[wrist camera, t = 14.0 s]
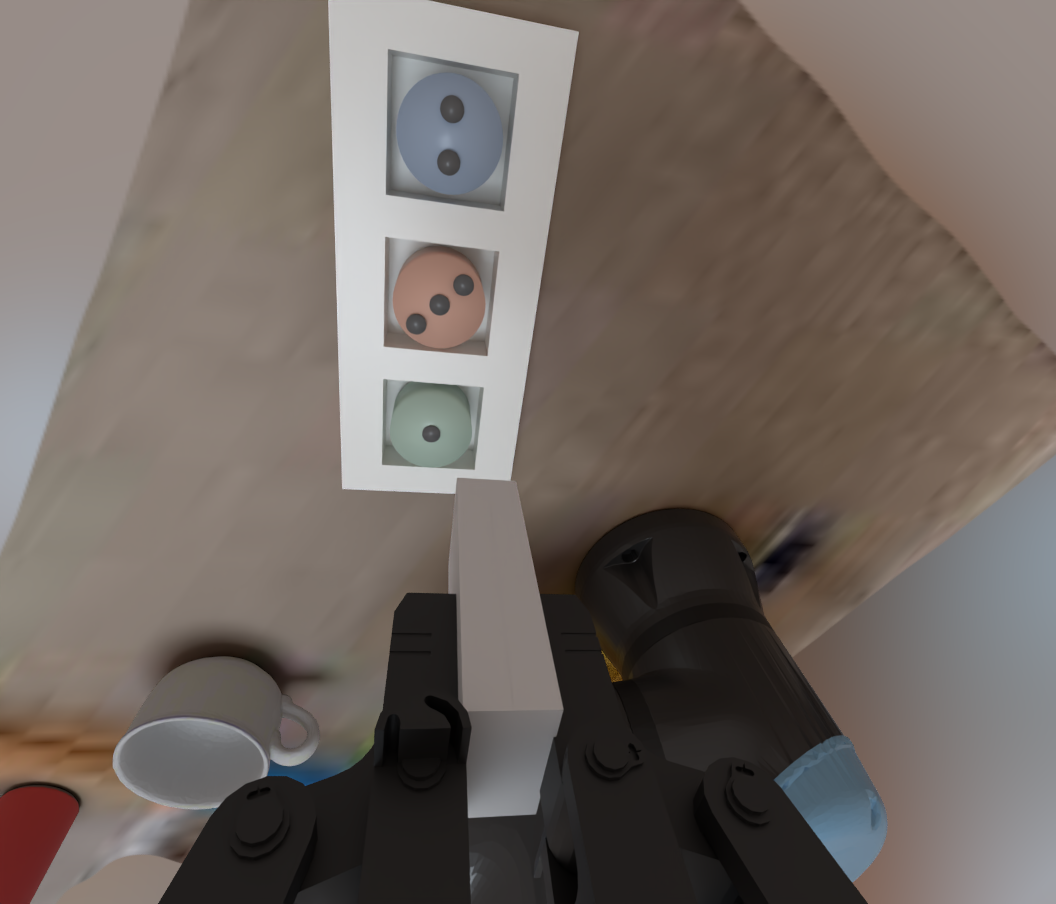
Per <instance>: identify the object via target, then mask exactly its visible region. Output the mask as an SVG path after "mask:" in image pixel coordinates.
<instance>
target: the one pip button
mask: <svg viewBox="0 0 1056 904" xmlns="http://www.w3.org/2000/svg"><path fill="white" fill-rule="evenodd" d="M390 438H391V441H392V444H393V446H394V448H395V449H396V451H397V452H398V453H399V454H400V455H401V456H402V457H403V458H404V459H406V460H407V461H409V462H411V463H413V464H415V465H418V466H422V467H441V466H445V465H448V464H450V463H453V462H454V461H456V460H457V459H459V458H460V457H461V456H462V455H463V454H464V453H465V452H466V450H467V449H468V447H469V445H470V442H471V438H472V425H471V414H470V405H469V401H468V399H467V397H466V395H465V393H464V392H463V391H462V390H461V389H460V388H459V387H458V386H457V385H450V384H438V383H425V382H413V381H411V382H410V383H408V384H407V385H405V386H404V387H403V388H402V389H401V391H400V392H399V393H398V395H397V397H396V399H395V403H394V408H393V413H392V419H391V424H390Z"/></svg>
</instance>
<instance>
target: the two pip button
mask: <svg viewBox="0 0 1056 904" xmlns="http://www.w3.org/2000/svg"><path fill="white" fill-rule="evenodd" d="M396 135H397V142H398V147H399V150H400V153H401V156H402V158H403V160H404V162H405V164H406V166H407V168H408V169H409V170H410V172H411V173H412V174H413V175H414V177H415V178H416V179H417V180H418V181H420V182H421V183H422V184H423V185H425V186H426V187H428V188H430V189H432V190H433V191H436V192H439V193H443V194H449V195H458V194H464V193H468V192H470V191H473V190H475V189H476V188H478V187H480V186H481V185H482V184H484V183H485V182H486V181H487V180H488V179H489V177H490V176H491V175H492V174H493V172H494V170H495V169H496V167H497V164H498V162H499V160H500V156H501V153H502V147H503V129H502V123H501V119H500V116H499V113H498V111H497V108H496V106H495V104H494V103H493V101H492V99H491V98H490V96H489V95H488V94H487V92H486V91H485V90H484V89H483V88H482V87H481V86H479V85H478V84H477V83H476V82H474V81H473V80H471V79H469V78H467V77H465V76H463V75H459V74H455V73H448V72H446V73H437V74H432V75H430V76H427V77H425V78H423V79H422V80H420V81H419V82H417V83H416V84H415V85H414V86H413V87H412V88H411V89H410V90H409V91H408V93H407V94H406V96H405V97H404V99H403V101H402V103H401V106H400V109H399V112H398V117H397V125H396Z"/></svg>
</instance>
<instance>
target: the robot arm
mask: <svg viewBox="0 0 1056 904" xmlns="http://www.w3.org/2000/svg"><path fill="white" fill-rule="evenodd" d="M601 651H603V652H604V654H605V655H606V656H607V658H608V659H609V660H610V662H611V663H612V664H613V665H614V667H615V668H616V669H617V671H618V672H619V673H620V675H621V676H622V679H623V681H618V682H613V683H612V682H611V679H610V675H609V672H608V669H607V666H606V662H605V659H604V656H603V654H602V653H601ZM886 834H887V814H886V810H885V807H884V804H883V802H882V799H881V797H880V796H879V794H878V792H877V790H876V788H875V787H874V785H873V783H872V781H871V779H870V778H869V776H868V774H867V772H866V771H865V769H864V767H863V765H862V764H861V762H860V760H859V758H858V756H857V755H856V753H855V749H854V745H853V744H852V742H851V741H850V739H849V738H848V737H846V736H844V735H843V733H842V732H841V730H840V729H839V727H838V726H837V724H836V723H835V721H834V720H833V718H832V717H831V715H830V714H829V712H828V711H827V709H826V708H825V706H824V705H823V703H822V702H821V700H820V699H819V697H818V696H817V694H816V693H815V691H814V690H813V688H812V687H811V685H810V684H809V683H808V681H807V679H806V678H805V676H804V675H803V673H802V672H801V670H800V669H799V667H798V666H797V664H796V663H795V661H794V660H793V658H792V657H791V655H790V654H789V652H788V651H787V649H786V648H785V646H784V645H783V643H782V642H781V640H780V639H779V637H778V636H777V635H776V633H775V632H774V630H773V629H772V627H771V625H770V624H769V622H768V621H767V619H766V618H765V616H764V612H763V608H762V603H761V599H760V594H759V590H758V585H757V581H756V576H755V572H754V567H753V563H752V560H751V558H750V555H749V553H748V551H747V549H746V548H745V546H744V545H743V543H742V542H741V541H740V539H739V538H738V536H737V535H736V534H735V532H734V531H733V530H732V529H731V527H730V526H729V525H727V524H726V523H725V522H724V521H722V520H721V519H719V518H717V517H715V516H713V515H711V514H708V513H705V512H702V511H697V510H691V509H668V510H661V511H656V512H652V513H648V514H645V515H642V516H639V517H636V518H634V519H632V520H629V521H627V522H625V523H623V524H622V525H620V526H618V527H617V528H615V529H613V530H612V531H611V532H609V533H608V534H606V535H605V536H604V537H603V538H602V539H601V540H600V541H598V542H597V543H596V544H595V546H594V547H593V548H592V549H591V550H590V551H589V553H588V554H587V556H586V557H585V559H584V560H583V562H582V564H581V566H580V568H579V571H578V573H577V577H576V582H575V595H561V594H539V589H538V584H537V580H536V575H535V570H534V565H533V560H532V556H531V551H530V546H529V541H528V536H527V531H526V527H525V522H524V517H523V512H522V507H521V503H520V498H519V493H518V488H517V483H516V481H507V480H490V479H473V478H457V482H456V492H455V502H454V512H453V523H452V533H451V543H450V553H449V563H448V594H439V593H407V594H406V595H405V597H404V598H403V600H402V601H401V603H400V604H399V606H398V607H397V608H396V610H395V611H394V620H393V628H392V637H391V645H390V655H389V662H388V670H387V679H386V687H385V696H384V704H383V711H382V712H381V713H380V716H379V719H378V722H377V725H376V728H375V736H374V745H373V746H372V748H371V749H370V751H369V752H368V753H367V754H366V755H365V756H364V757H363V759H362V760H360V761H359V762H358V763H356V764H355V765H354V766H352V767H351V768H350V769H348V770H345V771H343V772H341V773H339V774H337V775H335V776H332V777H329V778H327V779H324V780H321V781H318V782H316V783H313V784H310V785H307V786H304V784H303V783H301V782H298V781H296V780H294V779H292V778H289V777H287V776H266V777H263V778H261V779H258V780H255V781H252V782H249V783H246V784H245V785H243V786H242V787H240V788H239V789H238V790H236V791H235V792H233V793H232V794H230V795H229V796H228V797H226V798H225V800H224V801H223V802H222V803H221V804H220V806H219V807H218V808H217V809H216V811H215V812H214V813H213V814H212V815H211V817H210V818H209V820H208V822H207V823H206V825H205V827H204V828H203V830H202V832H201V833H200V835H199V837H198V838H197V840H196V842H195V843H194V845H193V847H192V848H191V850H190V852H189V853H188V855H187V857H186V858H185V860H184V862H183V863H182V865H181V867H180V868H179V870H178V872H177V873H176V875H175V877H174V878H173V880H172V882H171V883H170V885H169V887H168V888H167V890H166V892H165V893H164V895H163V897H162V898H161V900H160V902H159V903H158V904H868V903H867V902H866V900H865V899H864V898H863V896H862V895H861V894H860V892H859V891H858V890H857V888H856V887H855V886H854V885H853V883H852V882H854V881H855V880H856V879H857V878H858V877H859V876H860V875H861V874H862V873H863V872H864V871H865V870H866V869H867V868H868V867H869V866H870V864H871V863H872V862H873V861H874V859H875V858H876V857H877V855H878V853H879V852H880V850H881V848H882V846H883V843H884V841H885V838H886Z"/></svg>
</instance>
